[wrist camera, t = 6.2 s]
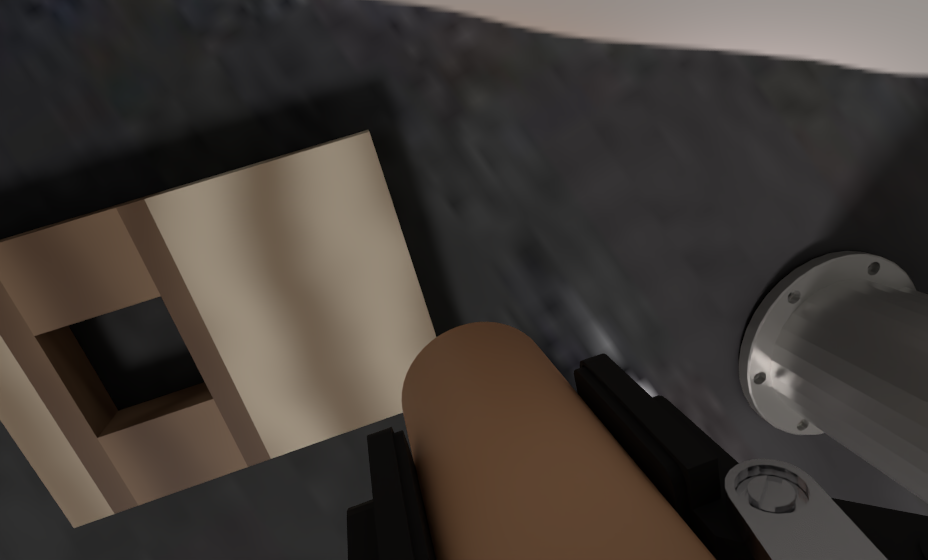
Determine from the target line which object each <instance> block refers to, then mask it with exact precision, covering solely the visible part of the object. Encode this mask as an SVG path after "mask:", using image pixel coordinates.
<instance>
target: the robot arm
mask: <svg viewBox="0 0 928 560" xmlns="http://www.w3.org/2000/svg"><path fill="white" fill-rule="evenodd" d="M574 377H575V382H576V387H577V392H578V395H579V396H580V397H581V398H582V400H583V401H584V402H585V403H586V404H587V406H588V407H589V408H590V409H591V410H592V411H593V413H594V414H595V415H596V416H597V417H598V419H599V420H600V421H601V422H602V423H603V425H604V426H605V427H606V428H607V429H608V431H609V432H610V433H611V434H612V435H613V437H614V438H615V439H616V440H617V441H618V443H619V444H620V445H621V446H622V447H623V449H624V450H625V451H626V452H627V453H628V455H629V456H630V457H631V458H632V459H633V461H634V462H635V463H636V464H637V465H638V467H639V468H640V469H641V470H642V471H643V472H644V474H645V475H646V476H647V477H648V478H649V480H650V481H651V482H652V483H653V484H654V486H655V487H656V488H657V489H658V490H659V492H660V493H661V494H662V495H663V496H664V498H665V499H666V500H667V501H668V502H669V504H670V505H671V506H672V507H673V508H674V510H675V511H676V512H677V513H678V514H679V516H680V517H681V518H682V519H683V520H684V522H685V523H686V524H687V525H688V526H689V527H690V529H691V530H692V531H693V532H694V533H695V535H696V536H697V537H698V538H699V539H700V541H701V542H702V543H703V544H704V545H705V547H706V548H707V549H708V550H709V551H710V553H711V554H712V555H713V556H714V557H715V559H716V560H928V516H924V515H919V514H913V513H908V512H903V511H898V510H892V509H887V508H882V507H876V506H871V505H866V504H861V503H855V502H850V501H845V500H839V499H834V498H830V497H829V496H828V494H827V493H826V492H825V491H824V490H823V489H822V488H821V487H820V486H819V485H818V484H817V483H816V481H815V480H814V479H813V478H812V477H810V476H809V475H808V474H807V473H805V472H804V471H803V470H801V469H799V468H797V467H795V466H793V465H791V464H789V463H785V462H782V461H778V460H772V459H754V460H747V461H745V462H742V463H738V462H737V461H736V460H734V459H733V458H732V457H731V456H730V455H729V454H728V453H727V452H726V451H724V450H723V449H722V448H721V447H720V446H719V445H718V444H717V443H715V442H714V441H713V440H712V439H711V438H710V437H709V436H708V435H706V434H705V433H704V432H703V431H702V430H701V429H700V428H699V427H698V426H696V425H695V424H694V423H693V422H692V421H691V420H690V419H689V418H687V417H686V416H685V415H684V414H683V413H682V412H681V411H680V410H678V409H677V408H676V407H675V406H674V405H673V404H672V403H671V402H669V401H668V400H667V399H666V398H664V397H663V396H655V397H653V398H652V397H651V396H650V395H649V394H648V393H647V392H646V391H645V390H644V389H643V388H641V387H640V386H639V385H638V384H637V383H636V382H635V381H634V380H633V379H632V378H631V377H630V376H629V375H627V374H626V373H625V372H624V371H623V370H622V369H621V368H620V367H619V366H618V365H617V364H616V363H615V362H613V361H612V360H611V359H610V358H609V357H608V356H607V355H606V354H600V355H597V356H594V357H591V358H588V359H585V360H582V361H581V362H580V368H579V369H576V370H575V371H574ZM739 378H740V383H741V387H742V390H743V394H744V396H745V397H746V399H747V401H748V403H749V405H750V406H751V407H752V408H753V410H754V411H755V412H756V413H757V414H758V415H759V416H760V417H762V418H763V419H764V420H766V421H767V422H769V423H770V424H771V425H773V426H774V427H776V428H778V429H780V430H783V431H785V432H788V433H792V434H797V435H817V434H821V433H826V434H827V435H829V436H830V437H832V438H833V439H835V440H836V441H838V442H839V443H841V444H842V445H843V446H845V447H846V448H848V449H849V450H851V451H852V452H854V453H855V454H857V455H858V456H859V457H861V458H862V459H864V460H865V461H867V462H868V463H870V464H871V465H873V466H874V467H875V468H877V469H878V470H880V471H881V472H883V473H884V474H886V475H887V476H889V477H890V478H891V479H893V480H894V481H896V482H897V483H899V484H900V485H902V486H903V487H905V488H906V489H907V490H909V491H910V492H912V493H913V494H915V495H916V496H918V497H919V498H921V499H922V500H923V501H925V502H926V503H928V294H925V293H922V292H919V291H916V289H915V286H914V284H913V282H912V281H911V279H910V278H909V276H908V275H907V273H906V272H905V271H904V270H903V269H901V268H900V267H899V266H898V265H897V264H896V263H894V262H892V261H890V260H887V259H885V258H883V257H881V256H877V255H873V254H869V253H866V252H860V251H841V252H834V253H829V254H826V255H823V256H820V257H818V258H815V259H812V260H810V261H809V262H807V263H805V264H803V265H801V266H800V267H798V268H796V269H795V270H793V271H792V272H791V273H790V274H788V275H787V276H786V277H784V278H783V279H782V280H781V281H780V282H779V283H778V284H777V285H776V286H775V287H774V288H773V289H772V290H771V291H770V292H769V293H768V294H767V295H766V297H765V298H764V300H763V301H762V302H761V304H760V305H759V307H758V308H757V310H756V311H755V313H754V315H753V317H752V319H751V321H750V323H749V325H748V327H747V329H746V332H745V335H744V338H743V341H742V345H741V350H740V357H739ZM367 442H368V452H369V462H370V473H371V483H372V493H373V500H370V501H367V502H364V503H362V504H359V505H356V506H353V507H351V508H348V510H347V538H348V560H436V557H435V553H434V548H433V544H432V539H431V535H430V530H429V526H428V521H427V517H426V512H425V508H424V503H423V499H422V494H421V490H420V485H419V481H418V476H417V472H416V467H415V464H414V461H413V458H412V455H411V452H410V449H409V446H408V443H407V441H406V438H405V435H404V432H403V430H402V431H399V432H396V433H394V432H393V429H392V427H390V428H387V429H384V430H382V431H379V432H376V433H373V434H370V435H368V436H367Z"/></svg>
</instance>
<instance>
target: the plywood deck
mask: <svg viewBox="0 0 928 560" xmlns="http://www.w3.org/2000/svg"><path fill="white" fill-rule="evenodd" d="M159 296H161V297H162V299H163V301H164V303H165V305H166V307H167V309H168V311H169V313H170V315H171V317H172V319H173V321H174V323H175V325H176V327H177V329H178V331H179V332H180V334H181V336H182V338H183V340H184V342H185V344H186V346H187V348H188V350H189V352H190V354H191V356H192V358H193V360H194V362H195V364H196V366H197V368H198V370H199V372H200V374H201V376H202V378H203V380H204V382H203V383H200V384H197V385H194V386H191V387H188V388H185V389H182V390H179V391H176V392H173V393H170V394H167V395H164V396H161V397H158V398H155V399H152V400H149V401H146V402H143V403H140V404H137V405H134V406H131V407H128V408H125V409H122V410H119V411H118V409H117V408H116V406H115V404H114V402H113V401H112V399H111V397H110V396H109V394H108V392H107V391H106V389H105V387H104V385H103V384H102V382H101V380H100V379H99V377H98V375H97V373H96V372H95V370H94V368H93V367H92V365H91V363H90V362H89V360H88V358H87V356H86V355H85V353H84V351H83V350H82V348H81V346H80V345H79V343H78V341H77V339H76V338H75V336H74V334H73V333H72V331H71V329H70V327H69V326H68V325H71V324H74V323H77V322H80V321H84V320H87V319H90V318H93V317H96V316H99V315H102V314H106V313H109V312H112V311H115V310H118V309H121V308H125V307H128V306H131V305H134V304H137V303H140V302H143V301H147V300H150V299H153V298H156V297H159ZM435 338H436V334H435V331H434V328H433V325H432V322H431V319H430V316H429V313H428V310H427V307H426V303H425V300H424V297H423V294H422V291H421V288H420V285H419V282H418V279H417V276H416V273H415V270H414V267H413V264H412V261H411V258H410V255H409V251H408V248H407V245H406V242H405V239H404V236H403V233H402V230H401V227H400V224H399V221H398V218H397V215H396V212H395V209H394V206H393V202H392V199H391V196H390V193H389V190H388V187H387V184H386V181H385V178H384V175H383V172H382V169H381V166H380V163H379V160H378V157H377V153H376V150H375V147H374V144H373V141H372V138H371V135H370V132H369V130H365V131H362V132H359V133H355V134H352V135H348V136H345V137H342V138H338V139H335V140H332V141H328V142H325V143H322V144H318V145H315V146H312V147H308V148H305V149H302V150H298V151H295V152H292V153H288V154H285V155H282V156H278V157H275V158H272V159H268V160H265V161H262V162H258V163H255V164H252V165H248V166H245V167H242V168H238V169H235V170H232V171H228V172H225V173H222V174H218V175H215V176H211V177H208V178H205V179H201V180H198V181H195V182H191V183H188V184H185V185H181V186H178V187H175V188H171V189H168V190H165V191H161V192H158V193H155V194H151V195H148V196H145V197H141V198H138V199H135V200H131V201H128V202H125V203H121V204H118V205H115V206H111V207H108V208H105V209H101V210H98V211H95V212H91V213H88V214H84V215H81V216H78V217H74V218H71V219H68V220H64V221H61V222H58V223H54V224H51V225H48V226H44V227H41V228H38V229H34V230H31V231H28V232H24V233H21V234H18V235H14V236H11V237H8V238H4V239H1V240H0V420H1V422H2V423H3V424H4V426H5V427H6V429H7V430H8V432H9V433H10V435H11V436H12V438H13V439H14V441H15V442H16V444H17V445H18V446H19V448H20V449H21V451H22V452H23V454H24V455H25V457H26V458H27V460H28V461H29V463H30V464H31V466H32V467H33V469H34V470H35V471H36V473H37V474H38V476H39V477H40V479H41V480H42V482H43V483H44V485H45V486H46V488H47V489H48V491H49V492H50V493H51V495H52V496H53V498H54V499H55V501H56V502H57V504H58V505H59V507H60V508H61V510H62V511H63V513H64V514H65V516H66V517H67V518H68V520H69V521H70V523H71V524H72V526H73V527H74V528H76V527H78V526H81V525H84V524H87V523H90V522H93V521H95V520H98V519H101V518H104V517H107V516H110V515H112V514H115V513H118V512H121V511H124V510H127V509H130V508H132V507H135V506H138V505H141V504H144V503H147V502H149V501H152V500H155V499H158V498H161V497H164V496H166V495H169V494H172V493H175V492H178V491H181V490H184V489H186V488H189V487H192V486H195V485H198V484H201V483H203V482H206V481H209V480H212V479H215V478H218V477H220V476H223V475H226V474H229V473H232V472H235V471H237V470H240V469H243V468H246V467H249V466H252V465H255V464H257V463H260V462H263V461H266V460H269V459H272V458H274V457H277V456H280V455H283V454H286V453H289V452H291V451H294V450H297V449H300V448H303V447H306V446H309V445H311V444H314V443H317V442H320V441H323V440H326V439H328V438H331V437H334V436H337V435H340V434H343V433H345V432H348V431H351V430H354V429H357V428H360V427H362V426H365V425H368V424H371V423H374V422H377V421H380V420H382V419H385V418H388V417H391V416H394V415H397V414H399V413H402V412H403V410H402V401H401V400H402V388H403V383H404V380H405V377H406V374H407V372H408V370H409V368H410V366H411V364H412V362H413V361H414V359H415V358H416V356H417V355H418V354H419V353H420V352H421V350H422V349H423V348H424V347H425V346H426V345H428V344H429V343H430V342H431V341H432V340H434V339H435Z"/></svg>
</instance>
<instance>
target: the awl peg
mask: <svg viewBox="0 0 928 560" xmlns="http://www.w3.org/2000/svg"><path fill="white" fill-rule="evenodd" d="M401 401H402V410H403V415H404V419H405V424H406V428H407V433H408V437H409V442H410V446H411V451H412V455H413V460H414V464H415V467H416V472H417V476H418V481H419V485H420V490H421V494H422V499H423V503H424V508H425V512H426V517H427V521H428V526H429V530H430V535H431V539H432V544H433V548H434V553H435V557H436V560H716V559H715V557H714V556H713V555H712V554H711V553H710V551H709V550H708V549H707V548H706V547H705V545H704V544H703V543H702V542H701V541H700V539H699V538H698V537H697V536H696V535H695V533H694V532H693V531H692V530H691V529H690V527H689V526H688V525H687V524H686V523H685V522H684V520H683V519H682V518H681V517H680V516H679V514H678V513H677V512H676V511H675V510H674V508H673V507H672V506H671V505H670V504H669V502H668V501H667V500H666V499H665V498H664V496H663V495H662V494H661V493H660V492H659V490H658V489H657V488H656V487H655V486H654V484H653V483H652V482H651V481H650V480H649V478H648V477H647V476H646V475H645V474H644V472H643V471H642V470H641V469H640V468H639V467H638V465H637V464H636V463H635V462H634V461H633V459H632V458H631V457H630V456H629V455H628V453H627V452H626V451H625V450H624V449H623V447H622V446H621V445H620V444H619V443H618V441H617V440H616V439H615V438H614V437H613V435H612V434H611V433H610V432H609V431H608V429H607V428H606V427H605V426H604V425H603V423H602V422H601V421H600V420H599V419H598V417H597V416H596V415H595V414H594V413H593V411H592V410H591V409H590V408H589V407H588V406H587V404H586V403H585V402H584V401H583V400H582V398H581V397H580V396H579V395H578V394H577V392H576V391H575V390H574V389H573V388H572V386H571V385H570V384H569V383H568V382H567V380H566V379H565V378H564V377H563V376H562V374H561V373H560V372H559V371H558V370H557V368H556V367H555V366H554V365H553V364H552V362H551V361H550V360H549V359H548V358H547V356H546V355H545V354H544V353H543V352H542V350H541V349H540V348H539V347H538V346H537V345H536V344H535V342H534V341H533V340H532V339H531V338H529V337H528V336H527V335H526V334H525V333H523V332H521V331H519V330H518V329H516V328H513V327H511V326H508V325H505V324H501V323H494V322H476V323H469V324H465V325H461V326H458V327H455V328H453V329H450V330H448V331H446V332H445V333H443V334H441V335H439V336H438V337H436V338H435V339H434V340H432V341H431V342H430V343H429V344H428V345H426V346H425V347H424V348H423V349H422V350H421V352H420V353H419V354H418V355H417V356H416V358H415V359H414V361H413V362H412V364H411V366H410V368H409V370H408V372H407V374H406V377H405V380H404V383H403V388H402V400H401Z"/></svg>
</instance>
